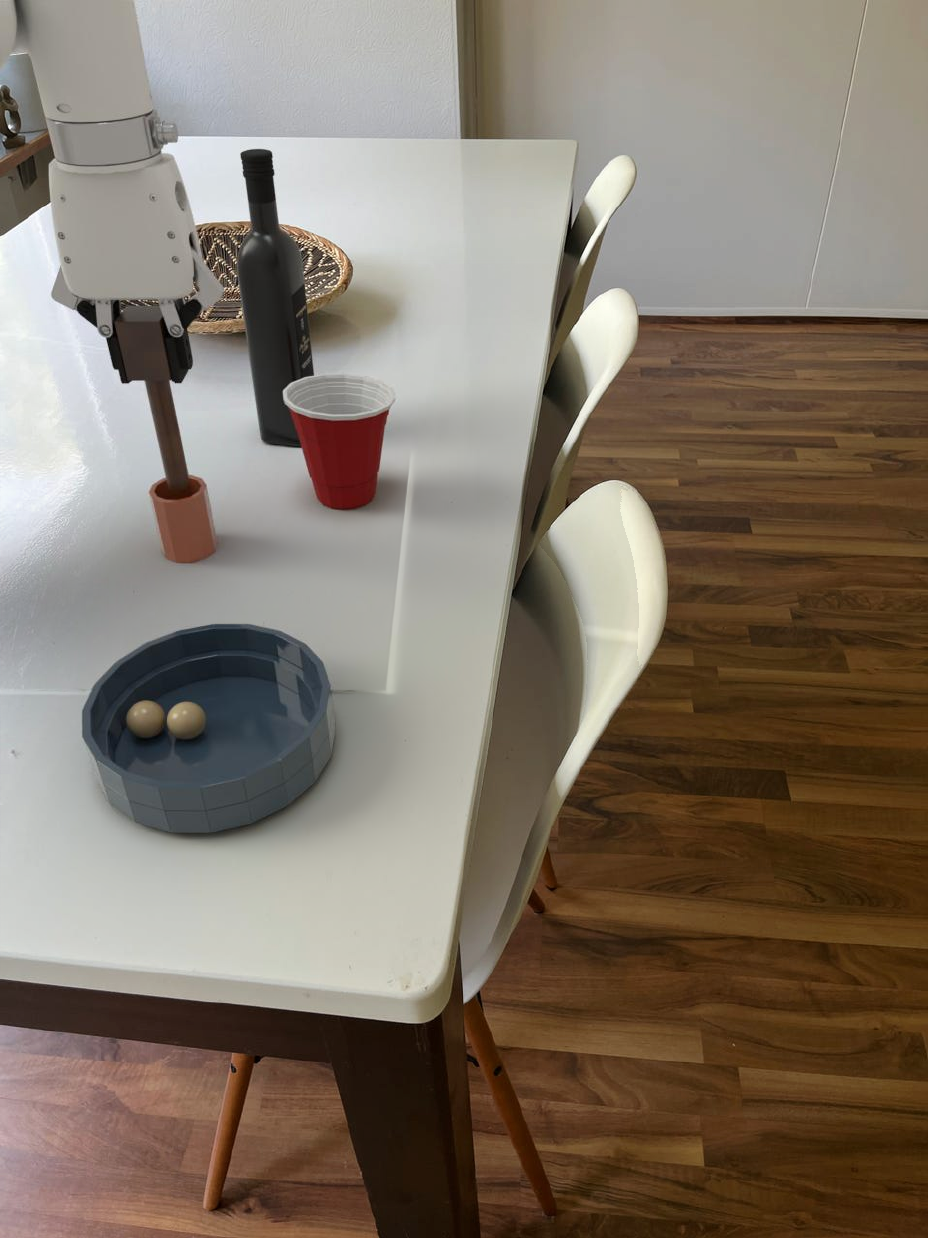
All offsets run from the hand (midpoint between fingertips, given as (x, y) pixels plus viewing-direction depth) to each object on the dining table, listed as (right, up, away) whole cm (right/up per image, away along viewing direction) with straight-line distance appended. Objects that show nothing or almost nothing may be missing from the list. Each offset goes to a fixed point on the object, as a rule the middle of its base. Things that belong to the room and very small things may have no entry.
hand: (155, 374), depth 83 cm
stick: (0, -8, +7) cm, 11 cm away
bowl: (+8, -30, -10) cm, 33 cm away
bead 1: (+2, -28, -10) cm, 30 cm away
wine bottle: (+6, 0, +30) cm, 31 cm away
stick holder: (0, -14, +11) cm, 18 cm away
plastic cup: (+14, -8, +19) cm, 25 cm away
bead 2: (+5, -28, -10) cm, 30 cm away
